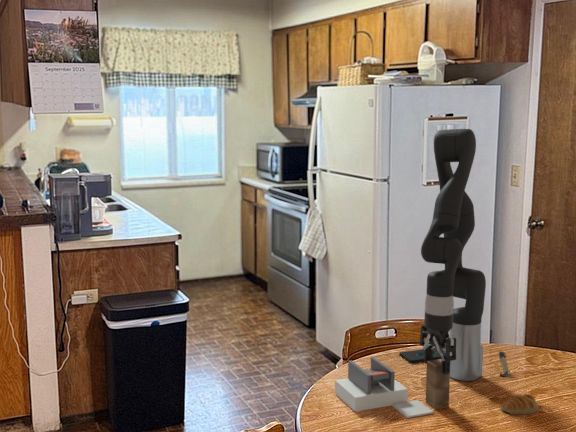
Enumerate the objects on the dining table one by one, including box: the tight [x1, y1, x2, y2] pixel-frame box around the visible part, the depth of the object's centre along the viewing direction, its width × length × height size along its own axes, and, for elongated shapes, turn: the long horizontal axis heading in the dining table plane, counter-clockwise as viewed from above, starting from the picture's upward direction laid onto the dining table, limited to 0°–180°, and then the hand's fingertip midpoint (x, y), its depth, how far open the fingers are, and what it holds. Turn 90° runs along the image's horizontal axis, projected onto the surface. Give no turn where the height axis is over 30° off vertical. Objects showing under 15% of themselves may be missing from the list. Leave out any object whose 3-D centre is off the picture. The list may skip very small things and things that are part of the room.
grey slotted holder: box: [334, 356, 409, 412], centre depth 193 cm, size 16×13×9 cm
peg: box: [425, 359, 451, 410], centre depth 189 cm, size 4×4×12 cm
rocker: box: [364, 369, 389, 380], centre depth 193 cm, size 5×12×1 cm, turn 21°
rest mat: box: [391, 399, 435, 419], centre depth 186 cm, size 8×8×1 cm
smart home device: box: [398, 346, 446, 364], centre depth 227 cm, size 8×2×20 cm
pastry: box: [501, 393, 539, 415], centre depth 186 cm, size 9×7×4 cm
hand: (436, 368), depth 188 cm, fingers open, 8 cm apart
